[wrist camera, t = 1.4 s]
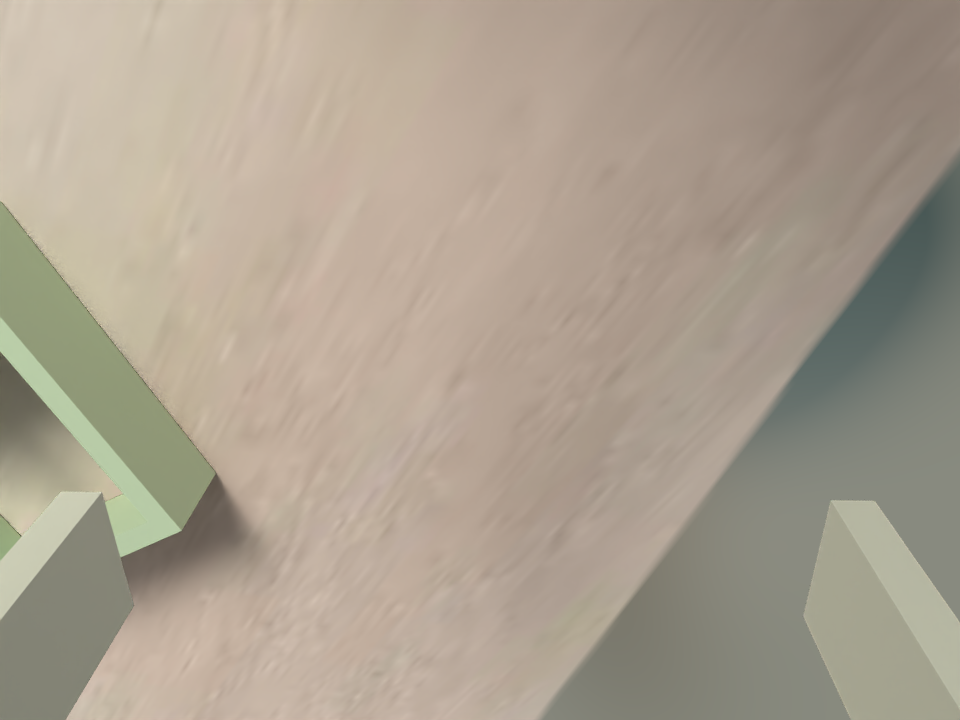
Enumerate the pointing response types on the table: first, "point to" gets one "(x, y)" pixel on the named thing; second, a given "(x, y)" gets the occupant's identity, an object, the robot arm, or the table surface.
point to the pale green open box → (95, 398)
